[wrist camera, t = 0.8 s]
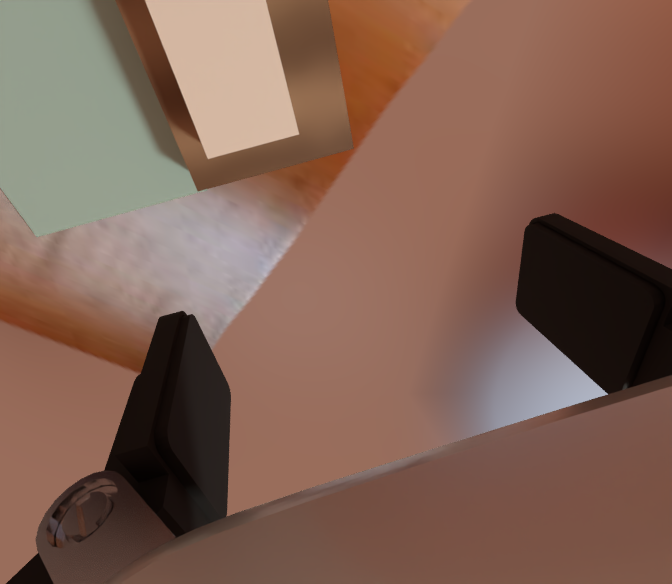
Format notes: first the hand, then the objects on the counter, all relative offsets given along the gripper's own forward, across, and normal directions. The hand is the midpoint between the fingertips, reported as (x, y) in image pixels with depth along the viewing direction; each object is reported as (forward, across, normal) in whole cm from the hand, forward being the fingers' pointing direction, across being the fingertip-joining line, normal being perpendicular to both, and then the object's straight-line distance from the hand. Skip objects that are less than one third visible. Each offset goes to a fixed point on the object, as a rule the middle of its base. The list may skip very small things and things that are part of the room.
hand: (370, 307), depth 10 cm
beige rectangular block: (+19, +2, -6) cm, 20 cm away
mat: (+24, +14, -6) cm, 29 cm away
